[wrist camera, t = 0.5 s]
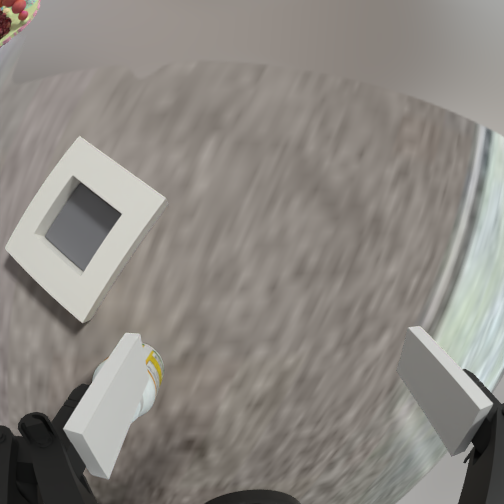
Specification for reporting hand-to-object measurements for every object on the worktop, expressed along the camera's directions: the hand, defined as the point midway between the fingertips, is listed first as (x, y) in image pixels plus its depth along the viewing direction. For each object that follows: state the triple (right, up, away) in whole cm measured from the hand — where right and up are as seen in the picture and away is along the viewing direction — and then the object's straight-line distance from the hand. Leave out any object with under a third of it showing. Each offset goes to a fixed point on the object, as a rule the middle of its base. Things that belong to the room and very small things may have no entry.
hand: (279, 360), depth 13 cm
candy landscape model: (-51, +46, +11) cm, 70 cm away
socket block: (-18, +7, +14) cm, 24 cm away
